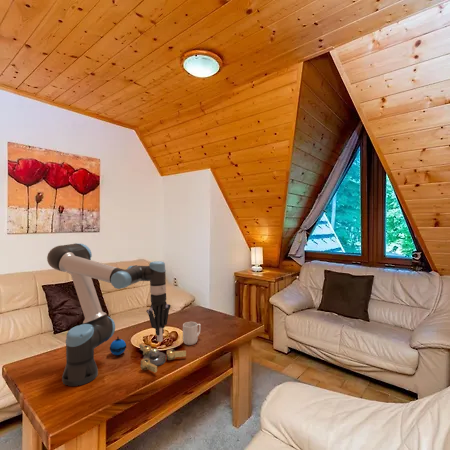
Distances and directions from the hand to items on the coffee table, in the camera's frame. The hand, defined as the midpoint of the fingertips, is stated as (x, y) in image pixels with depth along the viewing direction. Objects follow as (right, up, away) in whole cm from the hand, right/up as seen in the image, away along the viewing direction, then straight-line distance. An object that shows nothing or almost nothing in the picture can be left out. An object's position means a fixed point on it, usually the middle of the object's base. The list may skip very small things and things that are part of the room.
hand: (159, 340), depth 139 cm
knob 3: (+6, -14, +13) cm, 20 cm away
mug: (+12, -15, +35) cm, 40 cm away
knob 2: (-5, -14, 0) cm, 15 cm away
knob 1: (-13, -14, +19) cm, 27 cm away
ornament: (-27, -15, +18) cm, 36 cm away
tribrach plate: (-5, -15, +10) cm, 19 cm away
